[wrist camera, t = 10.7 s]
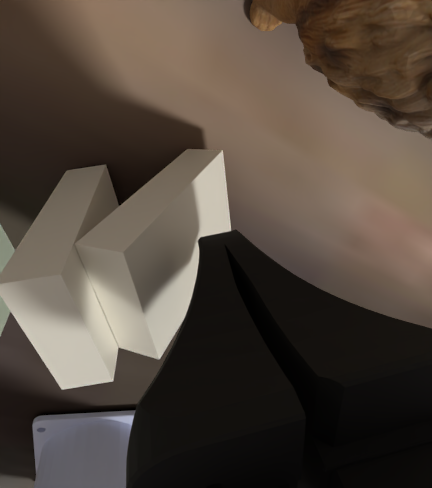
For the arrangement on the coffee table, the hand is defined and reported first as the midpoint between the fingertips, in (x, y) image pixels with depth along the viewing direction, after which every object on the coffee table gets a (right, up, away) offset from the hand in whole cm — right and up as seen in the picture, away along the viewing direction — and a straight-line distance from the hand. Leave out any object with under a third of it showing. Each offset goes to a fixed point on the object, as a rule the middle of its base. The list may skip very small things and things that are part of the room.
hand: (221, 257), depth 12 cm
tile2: (-5, +2, +4) cm, 6 cm away
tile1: (0, +3, +4) cm, 5 cm away
